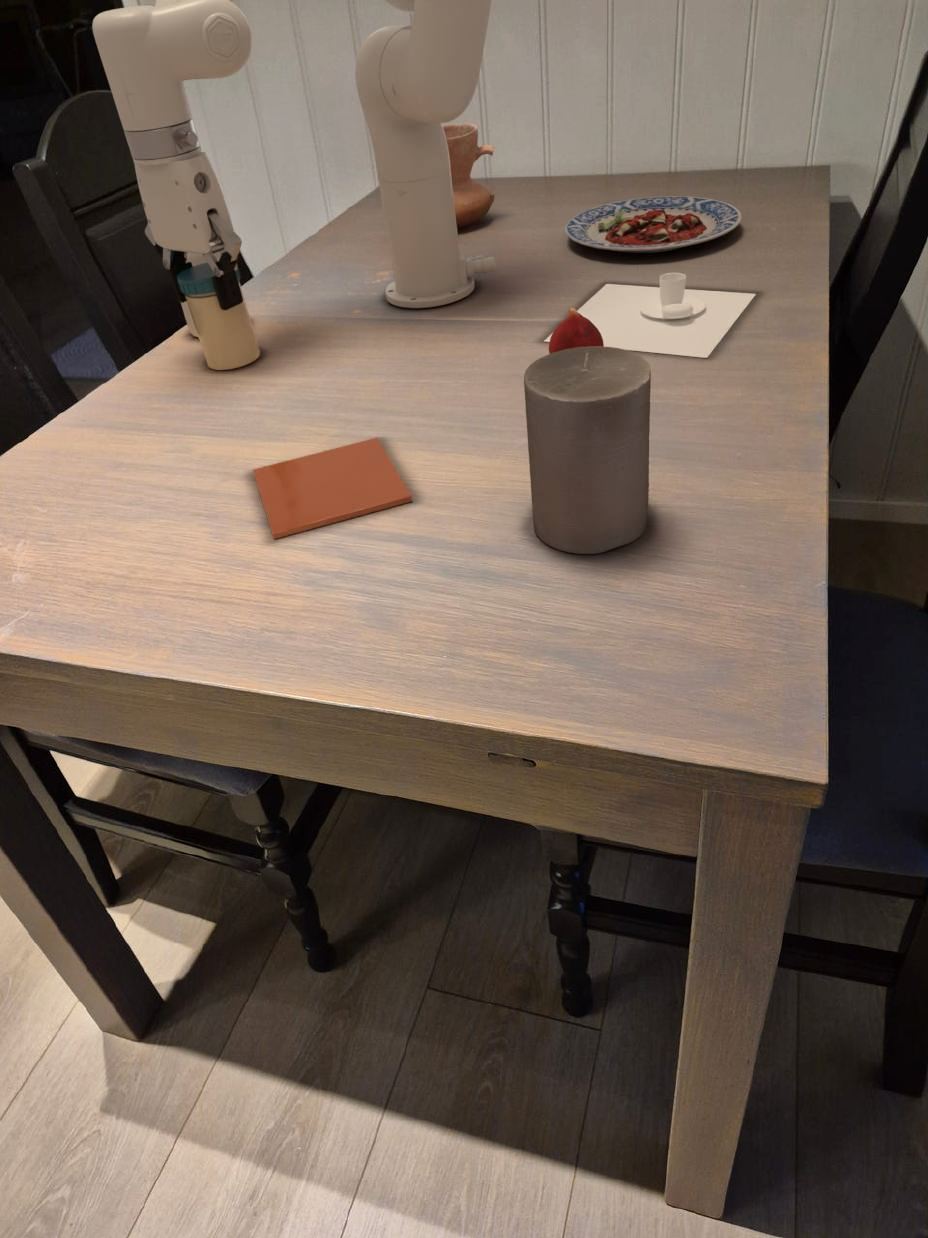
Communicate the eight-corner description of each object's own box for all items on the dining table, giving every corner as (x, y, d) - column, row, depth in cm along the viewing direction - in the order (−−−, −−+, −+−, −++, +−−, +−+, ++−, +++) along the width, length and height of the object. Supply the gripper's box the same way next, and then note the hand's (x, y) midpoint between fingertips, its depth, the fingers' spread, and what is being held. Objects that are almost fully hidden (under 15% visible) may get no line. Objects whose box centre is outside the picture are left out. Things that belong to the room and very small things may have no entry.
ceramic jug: (500, 206, 156) (492, 115, 147) (500, 230, 145) (492, 133, 136) (399, 218, 158) (385, 128, 149) (391, 242, 146) (376, 147, 137)
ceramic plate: (778, 227, 130) (780, 206, 128) (648, 277, 120) (648, 254, 118) (654, 201, 147) (654, 182, 145) (531, 242, 138) (530, 222, 136)
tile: (378, 442, 91) (376, 437, 91) (412, 501, 82) (411, 495, 81) (254, 474, 89) (252, 469, 89) (274, 539, 79) (272, 533, 79)
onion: (608, 370, 99) (608, 298, 94) (597, 392, 95) (596, 319, 90) (557, 368, 100) (554, 298, 96) (544, 390, 96) (540, 318, 91)
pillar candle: (553, 487, 81) (544, 326, 71) (660, 499, 77) (665, 331, 68) (517, 547, 74) (501, 378, 64) (632, 563, 70) (634, 387, 61)
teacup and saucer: (691, 327, 105) (693, 293, 102) (627, 322, 109) (627, 288, 106) (713, 300, 111) (715, 267, 108) (652, 296, 114) (653, 264, 112)
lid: (177, 299, 105) (172, 284, 104) (184, 281, 111) (179, 267, 110) (239, 287, 105) (234, 273, 104) (242, 270, 111) (238, 256, 110)
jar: (260, 344, 117) (237, 263, 110) (259, 363, 111) (235, 279, 105) (209, 354, 116) (183, 274, 110) (205, 373, 111) (178, 290, 105)
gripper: (241, 135, 95) (281, 299, 106) (142, 132, 104) (189, 284, 115) (188, 153, 91) (235, 322, 102) (89, 148, 100) (143, 304, 111)
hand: (210, 301), depth 109 cm, fingers closed on lid, 7 cm apart
